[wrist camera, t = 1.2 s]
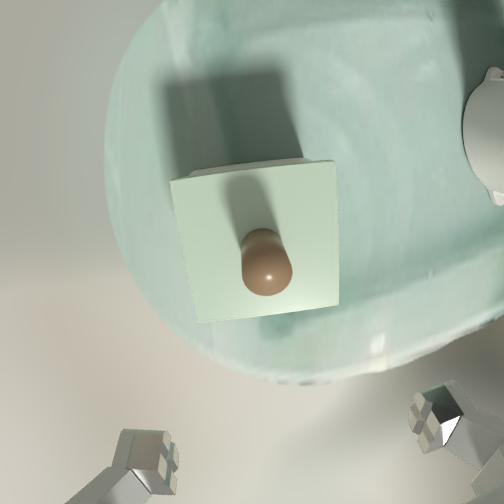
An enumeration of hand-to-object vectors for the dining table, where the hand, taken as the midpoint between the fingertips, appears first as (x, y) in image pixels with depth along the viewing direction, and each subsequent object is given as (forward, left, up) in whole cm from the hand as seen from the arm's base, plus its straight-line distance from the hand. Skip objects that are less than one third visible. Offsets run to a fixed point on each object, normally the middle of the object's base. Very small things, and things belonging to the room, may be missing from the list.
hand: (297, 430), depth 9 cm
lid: (0, 0, -19) cm, 19 cm away
